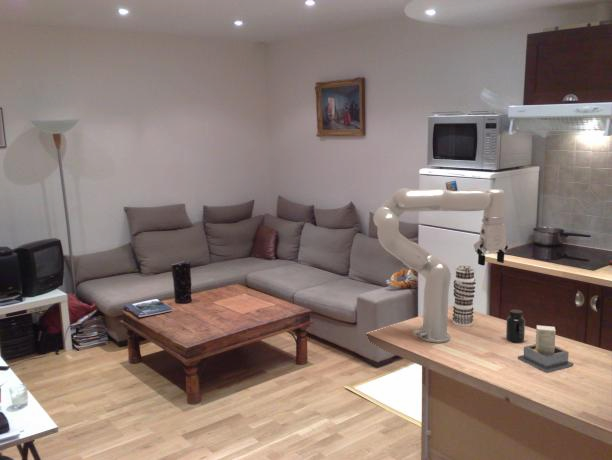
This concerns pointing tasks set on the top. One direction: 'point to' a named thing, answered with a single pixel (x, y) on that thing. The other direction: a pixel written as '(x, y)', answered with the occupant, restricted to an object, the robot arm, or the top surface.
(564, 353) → the socket
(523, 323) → the supplement bottle
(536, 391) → the top surface
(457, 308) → the decorative candle
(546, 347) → the skincare box
